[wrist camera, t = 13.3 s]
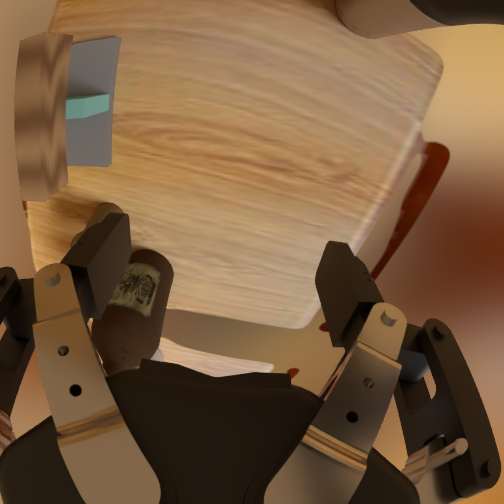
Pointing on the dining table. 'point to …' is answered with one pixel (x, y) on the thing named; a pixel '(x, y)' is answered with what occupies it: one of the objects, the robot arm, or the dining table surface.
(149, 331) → the olive oil
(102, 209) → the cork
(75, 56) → the balance stand
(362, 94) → the dining table surface
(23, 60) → the walnut bar
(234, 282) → the dining table surface
